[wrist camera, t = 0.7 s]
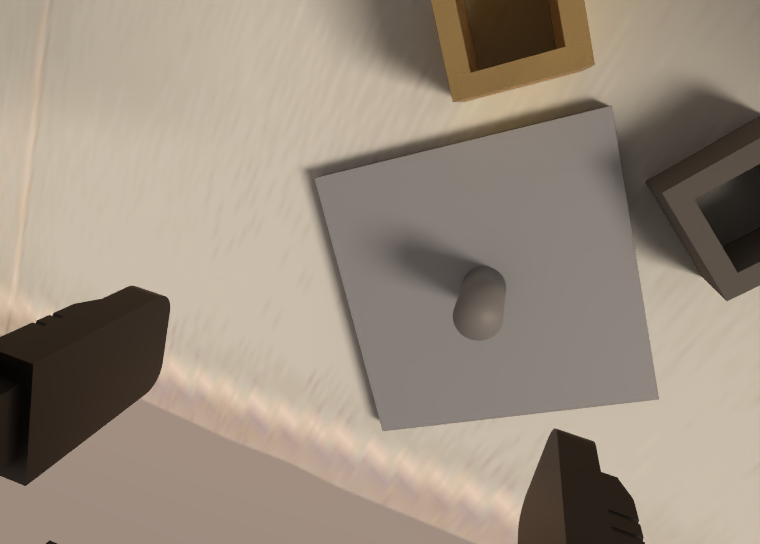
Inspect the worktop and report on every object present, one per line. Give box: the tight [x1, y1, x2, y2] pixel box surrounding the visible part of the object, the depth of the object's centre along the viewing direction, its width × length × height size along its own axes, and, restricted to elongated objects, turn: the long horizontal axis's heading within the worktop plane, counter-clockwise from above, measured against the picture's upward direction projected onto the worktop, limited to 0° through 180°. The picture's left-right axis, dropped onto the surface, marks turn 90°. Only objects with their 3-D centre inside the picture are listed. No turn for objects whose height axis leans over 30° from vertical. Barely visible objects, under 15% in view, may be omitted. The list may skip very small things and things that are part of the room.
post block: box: [314, 106, 659, 431], centre depth 32 cm, size 16×16×6 cm
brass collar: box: [431, 0, 595, 102], centre depth 28 cm, size 6×6×6 cm
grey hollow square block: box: [646, 117, 760, 301], centre depth 29 cm, size 6×6×4 cm
